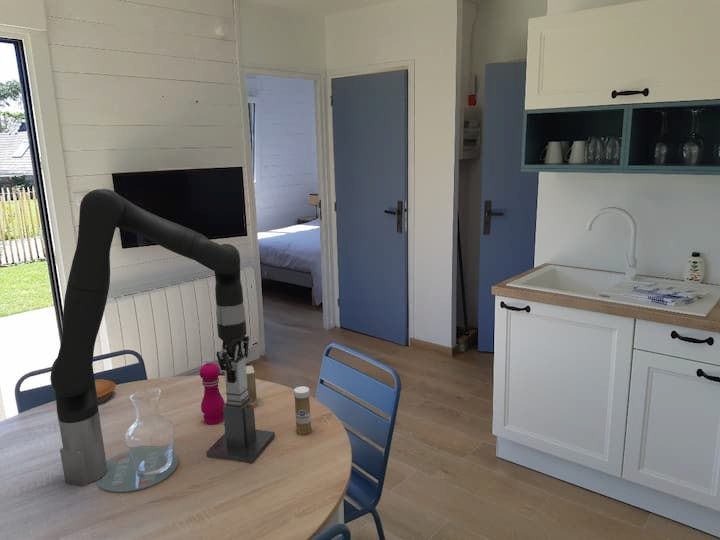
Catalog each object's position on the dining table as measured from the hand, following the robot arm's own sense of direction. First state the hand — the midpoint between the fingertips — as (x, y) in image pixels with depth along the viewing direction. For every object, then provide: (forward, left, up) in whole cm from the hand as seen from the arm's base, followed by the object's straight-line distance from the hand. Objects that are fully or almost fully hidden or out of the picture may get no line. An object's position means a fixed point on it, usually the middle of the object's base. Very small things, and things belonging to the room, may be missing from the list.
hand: (236, 378), depth 149 cm
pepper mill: (+12, +16, -21) cm, 29 cm away
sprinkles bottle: (+12, -14, -21) cm, 28 cm away
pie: (+15, +65, -21) cm, 70 cm away
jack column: (0, 0, -14) cm, 14 cm away
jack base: (0, 0, -21) cm, 21 cm away
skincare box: (+24, +10, -21) cm, 33 cm away
